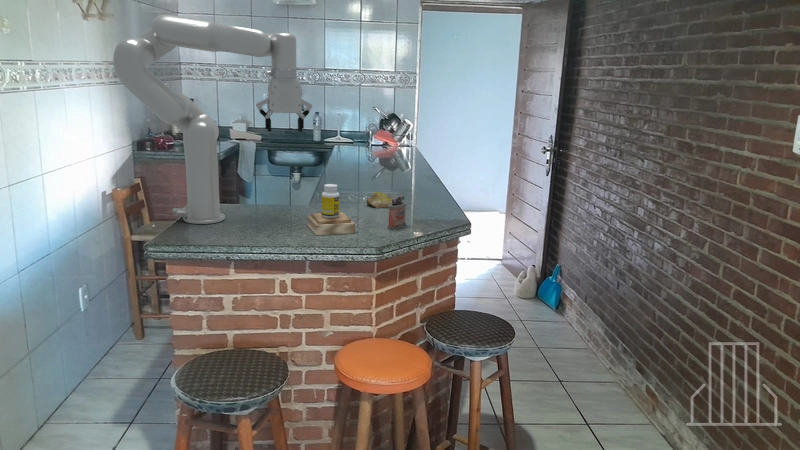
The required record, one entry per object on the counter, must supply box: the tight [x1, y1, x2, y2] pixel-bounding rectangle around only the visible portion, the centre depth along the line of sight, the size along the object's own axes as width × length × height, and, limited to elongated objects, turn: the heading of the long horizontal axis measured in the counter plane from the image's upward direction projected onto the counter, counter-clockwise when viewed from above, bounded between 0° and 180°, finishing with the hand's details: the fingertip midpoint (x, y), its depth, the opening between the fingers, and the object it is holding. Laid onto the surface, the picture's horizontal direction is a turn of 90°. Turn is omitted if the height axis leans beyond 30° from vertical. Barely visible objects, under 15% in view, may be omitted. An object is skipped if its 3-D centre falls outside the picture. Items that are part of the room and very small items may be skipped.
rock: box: [366, 191, 392, 209], centre depth 218 cm, size 12×7×10 cm
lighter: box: [387, 194, 407, 231], centre depth 188 cm, size 8×3×10 cm, turn 148°
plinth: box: [306, 211, 356, 236], centre depth 183 cm, size 12×12×4 cm
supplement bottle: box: [320, 183, 340, 218], centre depth 181 cm, size 5×5×10 cm
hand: (284, 131), depth 187 cm, fingers open, 9 cm apart
